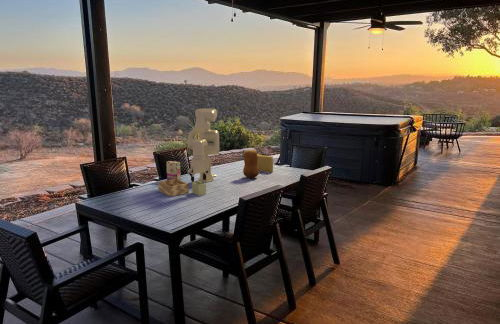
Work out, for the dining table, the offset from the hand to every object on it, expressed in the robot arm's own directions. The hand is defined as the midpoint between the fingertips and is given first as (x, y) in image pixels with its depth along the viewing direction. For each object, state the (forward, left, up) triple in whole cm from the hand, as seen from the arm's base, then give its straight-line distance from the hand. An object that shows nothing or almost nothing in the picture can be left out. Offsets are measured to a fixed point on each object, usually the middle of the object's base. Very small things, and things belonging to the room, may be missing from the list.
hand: (198, 180), depth 255 cm
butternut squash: (-60, -16, -10) cm, 63 cm away
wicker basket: (+13, -16, -10) cm, 22 cm away
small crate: (0, -1, -10) cm, 10 cm away
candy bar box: (-2, -46, -10) cm, 47 cm away
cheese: (-88, -31, -10) cm, 93 cm away
